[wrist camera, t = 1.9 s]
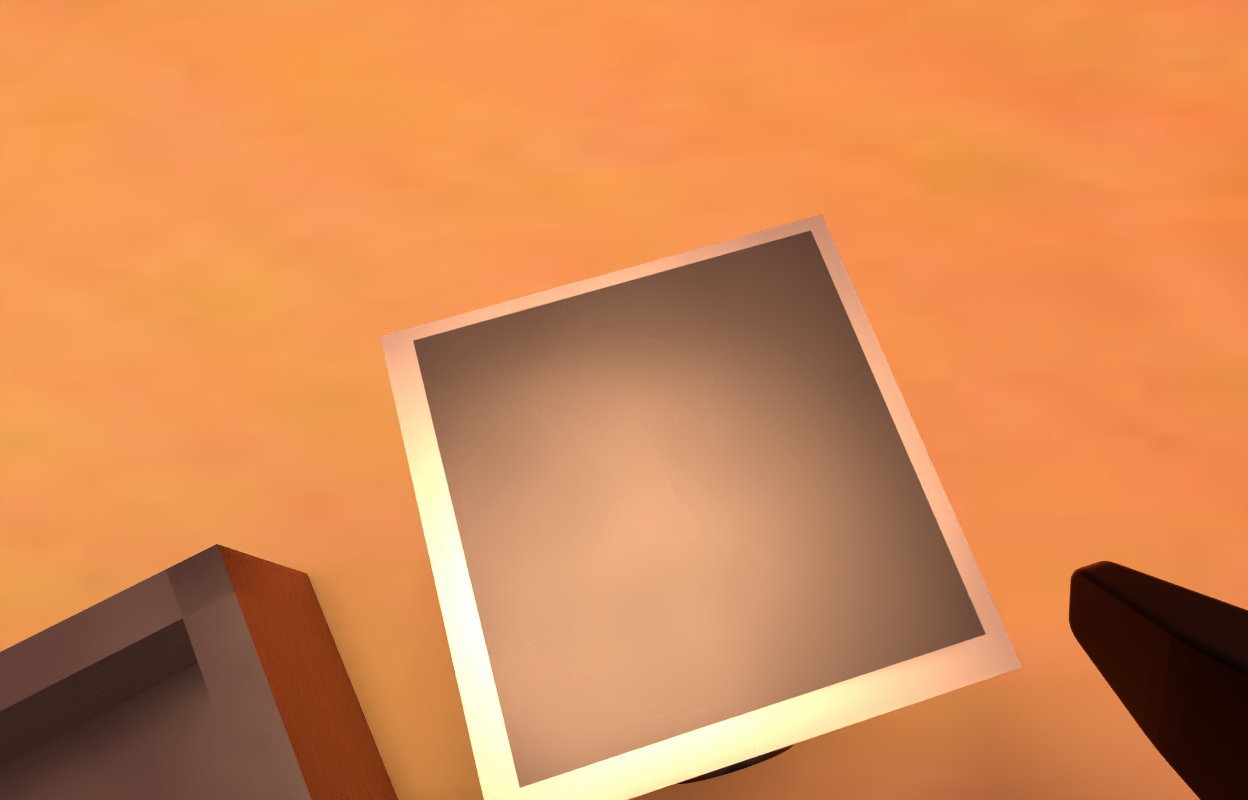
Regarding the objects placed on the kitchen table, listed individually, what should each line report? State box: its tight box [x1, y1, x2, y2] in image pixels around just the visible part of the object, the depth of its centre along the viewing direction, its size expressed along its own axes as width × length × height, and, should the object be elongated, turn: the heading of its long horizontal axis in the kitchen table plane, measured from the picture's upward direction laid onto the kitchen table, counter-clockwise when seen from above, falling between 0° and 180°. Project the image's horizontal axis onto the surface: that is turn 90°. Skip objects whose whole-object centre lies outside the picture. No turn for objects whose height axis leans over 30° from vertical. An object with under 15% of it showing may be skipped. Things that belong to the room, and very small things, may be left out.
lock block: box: [380, 215, 1022, 800], centre depth 13 cm, size 5×5×12 cm
